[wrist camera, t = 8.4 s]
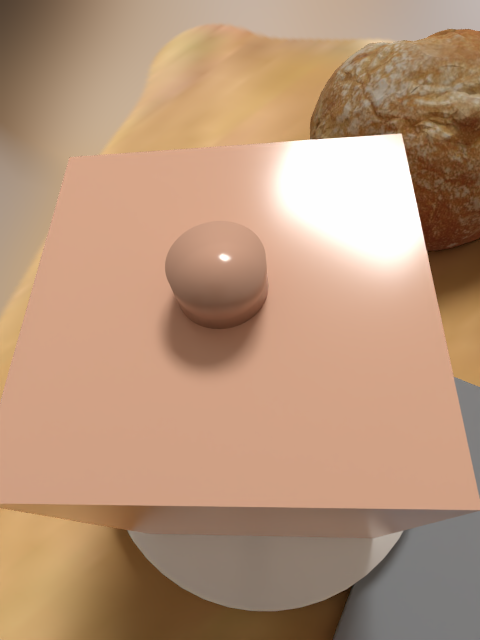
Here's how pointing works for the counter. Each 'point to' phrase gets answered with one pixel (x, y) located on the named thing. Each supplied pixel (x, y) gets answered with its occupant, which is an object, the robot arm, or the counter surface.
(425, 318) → the pink knobbed box
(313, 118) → the bread roll
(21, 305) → the counter surface
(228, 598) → the plate
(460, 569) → the mat
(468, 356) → the counter surface
